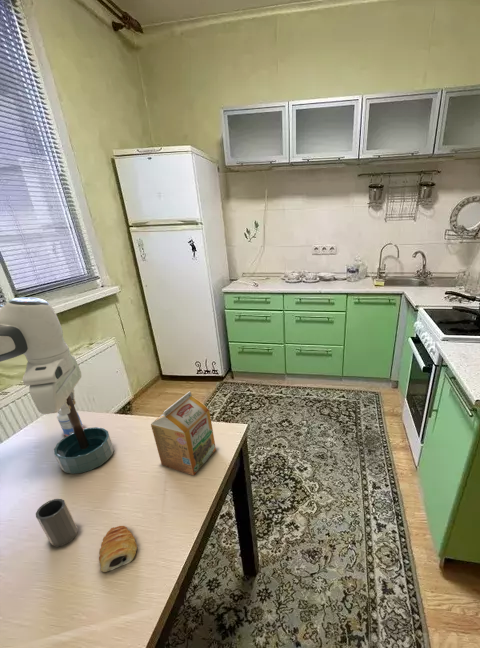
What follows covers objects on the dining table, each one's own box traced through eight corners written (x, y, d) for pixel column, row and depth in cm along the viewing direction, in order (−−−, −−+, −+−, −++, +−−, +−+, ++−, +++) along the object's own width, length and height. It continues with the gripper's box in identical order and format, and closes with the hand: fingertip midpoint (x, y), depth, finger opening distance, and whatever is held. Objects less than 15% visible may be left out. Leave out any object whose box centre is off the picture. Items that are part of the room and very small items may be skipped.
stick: (79, 451, 92) (58, 396, 83) (82, 446, 94) (61, 392, 85) (88, 450, 92) (67, 395, 84) (90, 445, 94) (70, 391, 86)
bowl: (54, 480, 85) (45, 463, 82) (70, 447, 97) (64, 431, 94) (108, 470, 88) (102, 453, 85) (118, 439, 99) (113, 423, 97)
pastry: (100, 539, 69) (95, 527, 68) (133, 525, 72) (129, 513, 71) (102, 577, 62) (96, 565, 60) (140, 560, 65) (135, 548, 63)
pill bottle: (73, 426, 106) (62, 401, 102) (87, 427, 105) (78, 402, 101) (60, 436, 101) (49, 411, 97) (75, 438, 101) (65, 412, 96)
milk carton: (193, 475, 85) (181, 416, 77) (162, 465, 89) (146, 408, 80) (216, 450, 94) (206, 394, 85) (186, 442, 97) (174, 387, 89)
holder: (47, 551, 67) (31, 522, 63) (56, 530, 72) (41, 501, 68) (74, 545, 68) (59, 515, 64) (81, 524, 73) (68, 496, 69)
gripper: (53, 348, 89) (69, 391, 95) (18, 383, 71) (41, 433, 77) (78, 345, 90) (93, 388, 96) (50, 379, 72) (70, 429, 79)
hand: (69, 409), depth 87 cm, fingers closed on stick, 2 cm apart
